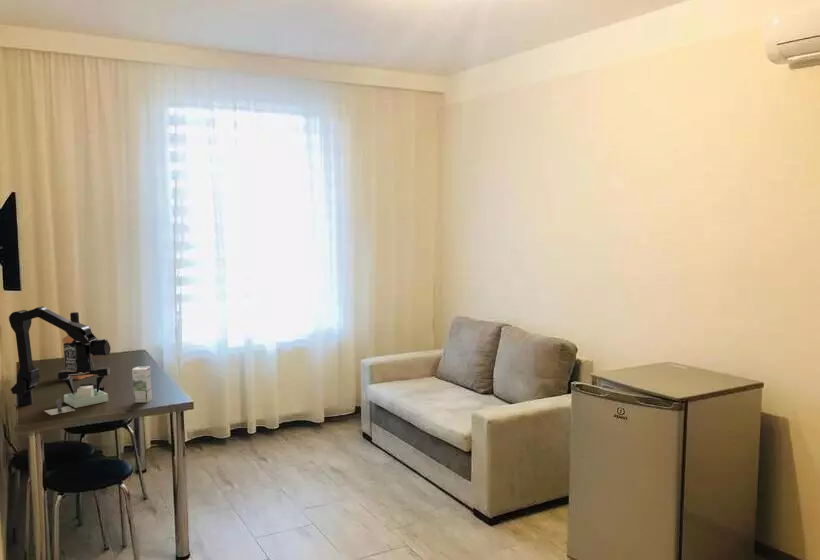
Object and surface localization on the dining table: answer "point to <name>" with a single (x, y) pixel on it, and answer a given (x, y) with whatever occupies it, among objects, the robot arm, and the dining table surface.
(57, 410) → the mount plate
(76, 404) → the parts bin
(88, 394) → the block
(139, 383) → the syrup box
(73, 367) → the whiskey bottle
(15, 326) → the robot arm
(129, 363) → the dining table surface
